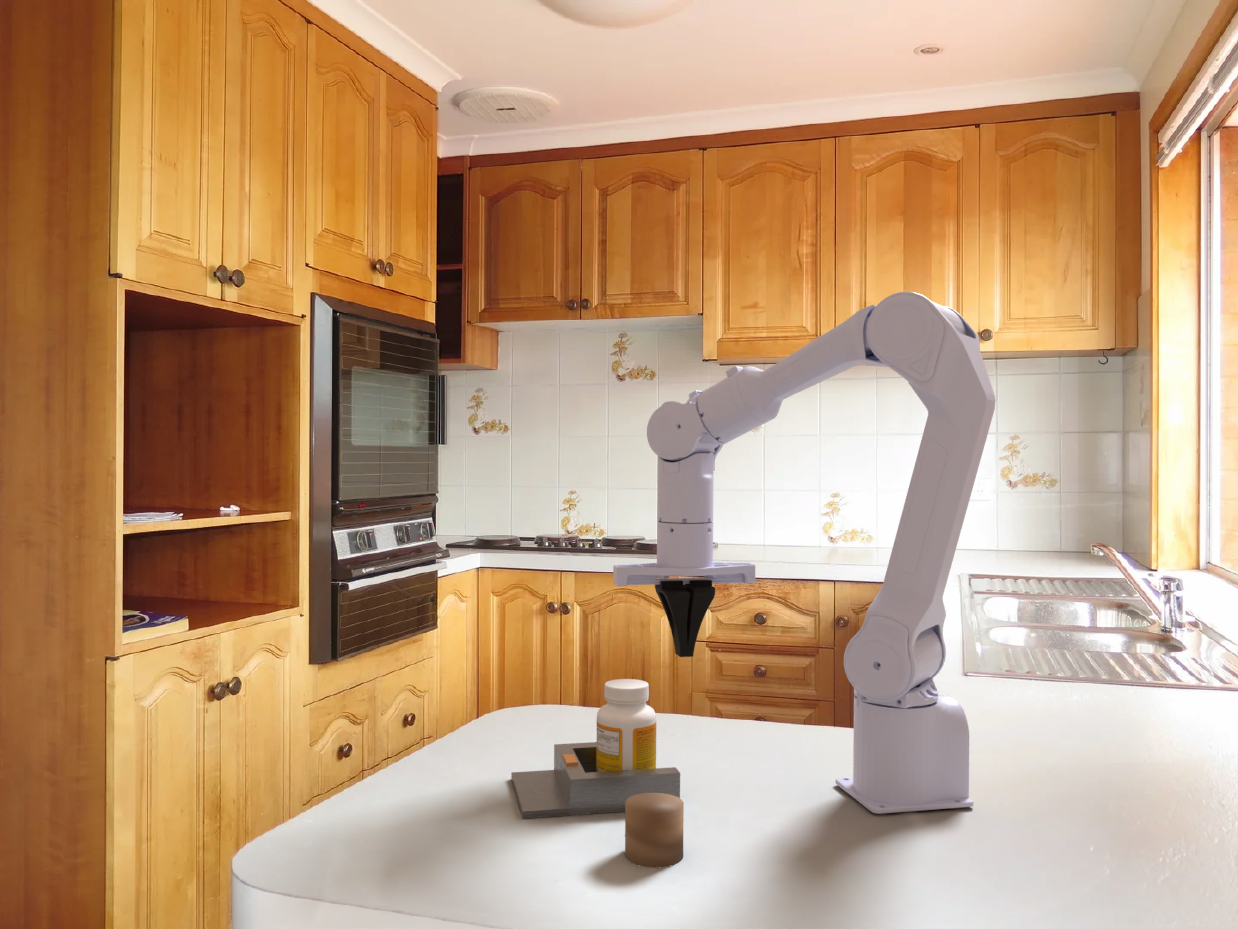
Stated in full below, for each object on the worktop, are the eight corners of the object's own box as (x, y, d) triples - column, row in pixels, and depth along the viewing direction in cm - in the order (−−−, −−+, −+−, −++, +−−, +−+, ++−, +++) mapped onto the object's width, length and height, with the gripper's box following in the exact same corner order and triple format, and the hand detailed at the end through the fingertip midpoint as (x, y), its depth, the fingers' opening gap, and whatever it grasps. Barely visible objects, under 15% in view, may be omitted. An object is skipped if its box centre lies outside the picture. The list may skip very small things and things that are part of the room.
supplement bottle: (654, 781, 89) (654, 676, 89) (657, 801, 84) (658, 690, 84) (596, 780, 89) (596, 676, 89) (595, 801, 84) (596, 690, 83)
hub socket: (652, 770, 92) (652, 737, 92) (679, 807, 82) (680, 770, 82) (511, 779, 89) (511, 744, 89) (522, 818, 79) (522, 780, 79)
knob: (674, 842, 75) (675, 791, 75) (690, 865, 71) (690, 811, 71) (619, 846, 74) (620, 794, 74) (631, 870, 70) (632, 815, 70)
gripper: (740, 518, 103) (739, 645, 103) (607, 519, 100) (606, 649, 100) (763, 523, 96) (762, 658, 96) (621, 524, 93) (620, 664, 93)
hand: (684, 655), depth 98 cm, fingers closed
